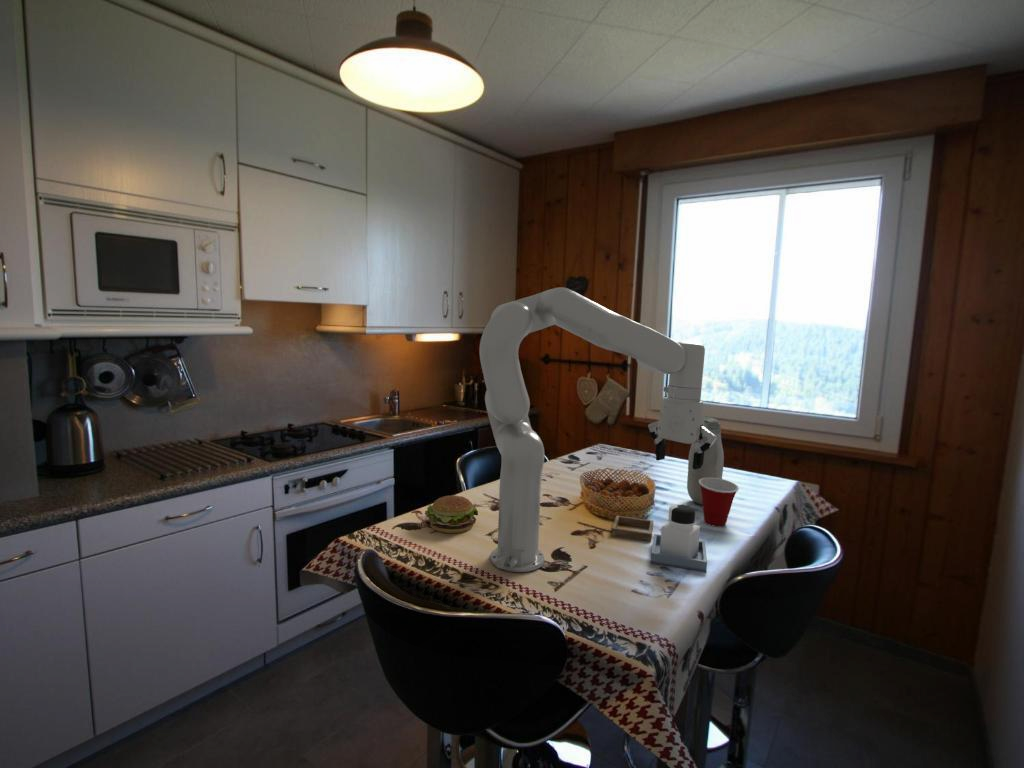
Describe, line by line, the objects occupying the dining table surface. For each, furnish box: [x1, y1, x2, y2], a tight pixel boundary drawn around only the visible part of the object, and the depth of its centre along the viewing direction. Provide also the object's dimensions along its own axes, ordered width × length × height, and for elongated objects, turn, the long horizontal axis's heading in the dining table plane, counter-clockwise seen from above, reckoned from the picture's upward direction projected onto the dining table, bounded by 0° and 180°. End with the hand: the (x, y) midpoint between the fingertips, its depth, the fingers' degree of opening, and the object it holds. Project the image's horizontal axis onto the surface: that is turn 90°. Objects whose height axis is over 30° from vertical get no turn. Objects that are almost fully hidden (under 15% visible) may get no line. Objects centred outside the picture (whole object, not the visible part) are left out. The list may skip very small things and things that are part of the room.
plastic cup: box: [699, 478, 740, 527], centre depth 151 cm, size 11×11×12 cm
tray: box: [650, 533, 708, 573], centre depth 128 cm, size 12×12×2 cm
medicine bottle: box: [660, 503, 701, 558], centre depth 128 cm, size 7×7×12 cm
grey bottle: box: [686, 416, 725, 506], centre depth 168 cm, size 10×10×28 cm
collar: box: [611, 515, 654, 542], centre depth 144 cm, size 10×10×2 cm
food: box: [424, 494, 479, 534], centre depth 142 cm, size 14×14×8 cm
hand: (678, 463), depth 127 cm, fingers open, 9 cm apart
